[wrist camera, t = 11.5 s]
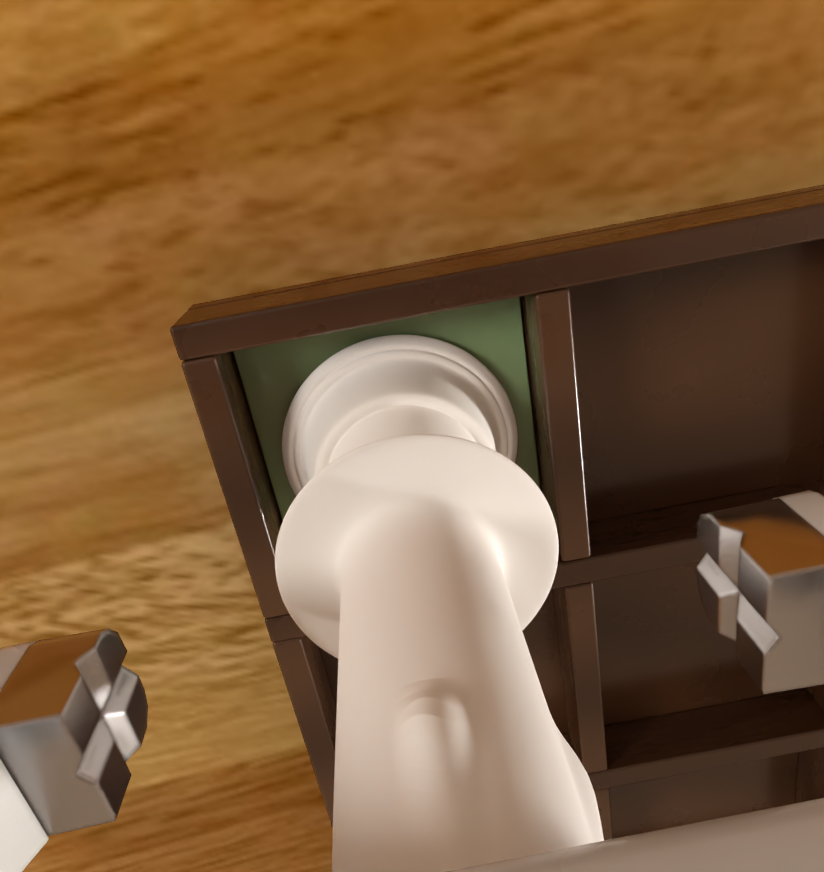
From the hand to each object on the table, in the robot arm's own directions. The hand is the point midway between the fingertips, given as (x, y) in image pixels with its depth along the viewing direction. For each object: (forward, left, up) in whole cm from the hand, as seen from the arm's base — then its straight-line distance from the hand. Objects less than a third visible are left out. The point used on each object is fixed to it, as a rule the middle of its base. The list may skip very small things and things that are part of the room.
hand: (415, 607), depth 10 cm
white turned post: (+1, 0, -7) cm, 7 cm away
